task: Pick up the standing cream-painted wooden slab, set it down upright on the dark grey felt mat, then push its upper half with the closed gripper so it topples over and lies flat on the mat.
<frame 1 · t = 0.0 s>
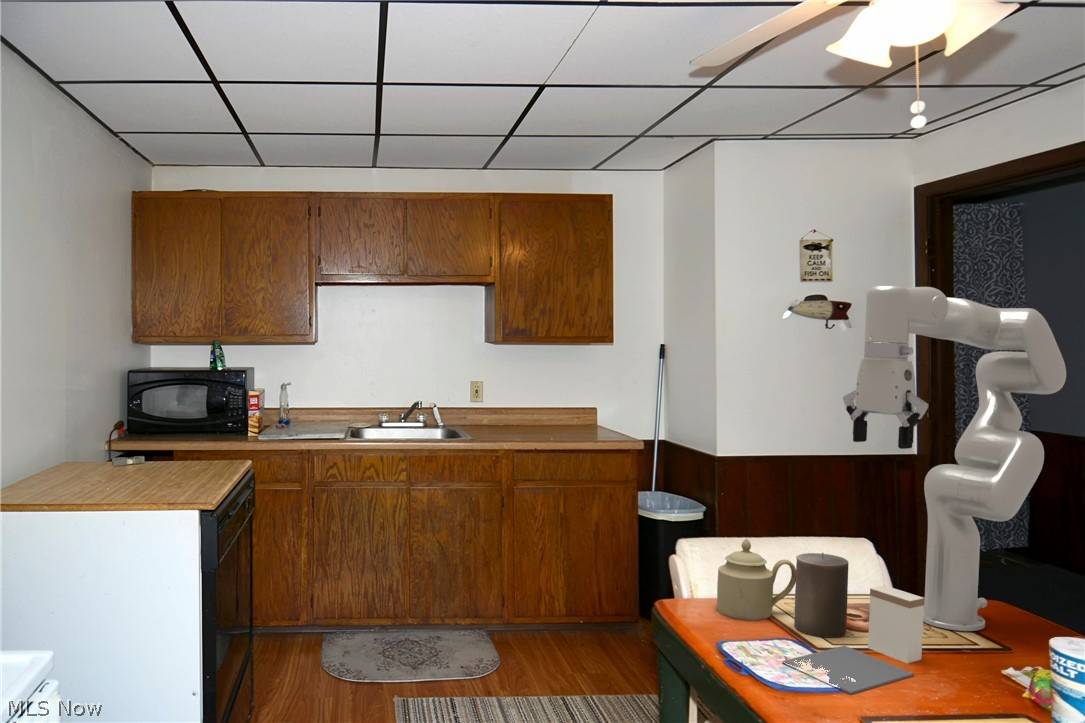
hand: (881, 444, 154), 37 cm above the table, fingers open, 9 cm apart
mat: (847, 669, 141), on the table
pillar candle: (819, 629, 161), on the table
slab: (894, 653, 149), on the table
sugar bowl: (751, 611, 171), on the table
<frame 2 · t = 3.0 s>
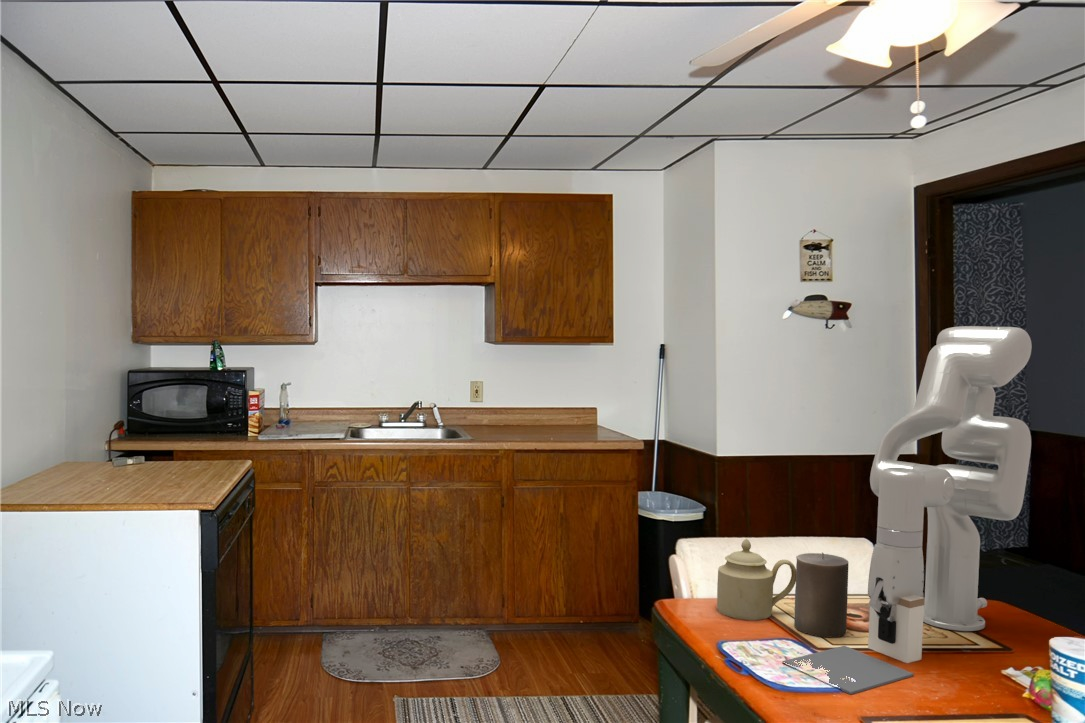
hand: (895, 637, 149), 3 cm above the table, fingers closed on slab, 4 cm apart
slab: (894, 653, 149), on the table, touching gripper
everything else where it was.
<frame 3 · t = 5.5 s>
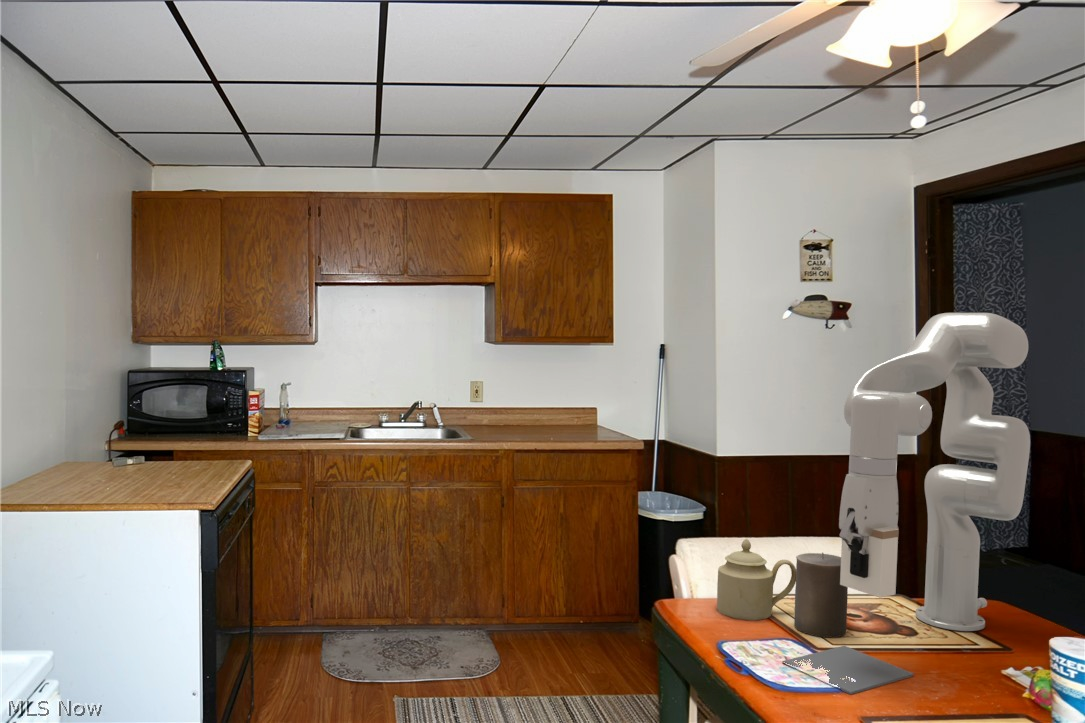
hand: (867, 573, 141), 16 cm above the table, fingers closed on slab, 4 cm apart
slab: (867, 589, 141), point 14 cm above the table, touching gripper
everything else where it was.
when the fingers open (3 cm above the table, at t = 8.0 s): slab stays where it is, resting on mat.
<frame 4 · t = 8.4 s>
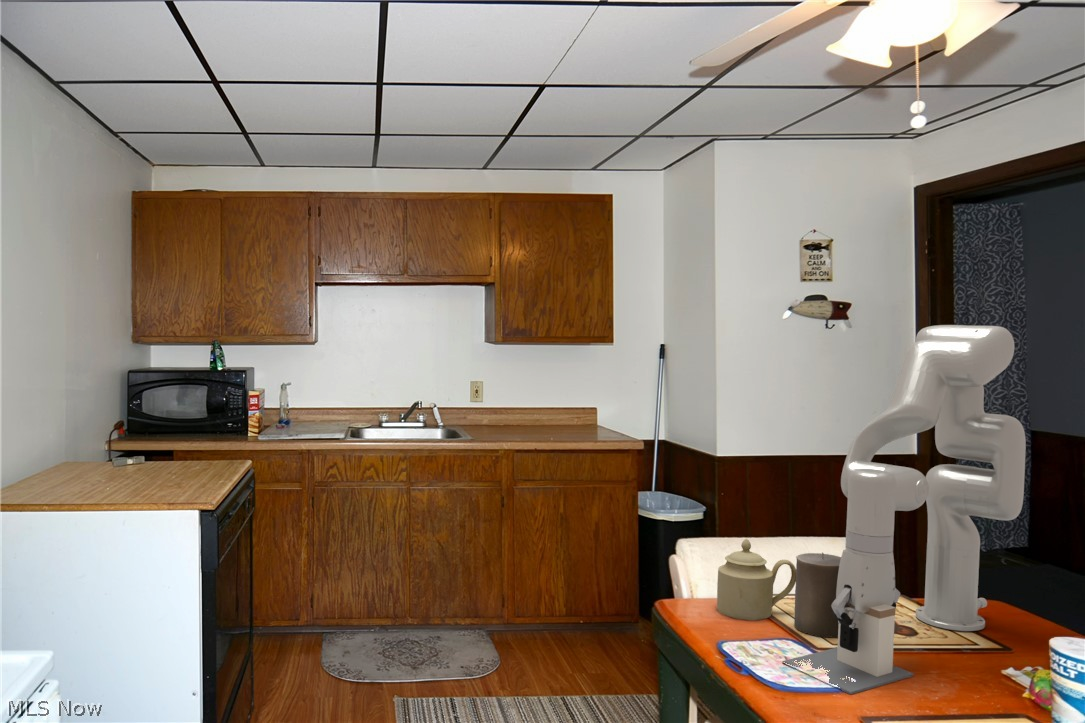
hand: (864, 644, 142), 4 cm above the table, fingers open, 7 cm apart
slab: (864, 665, 142), resting on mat
everything else where it was.
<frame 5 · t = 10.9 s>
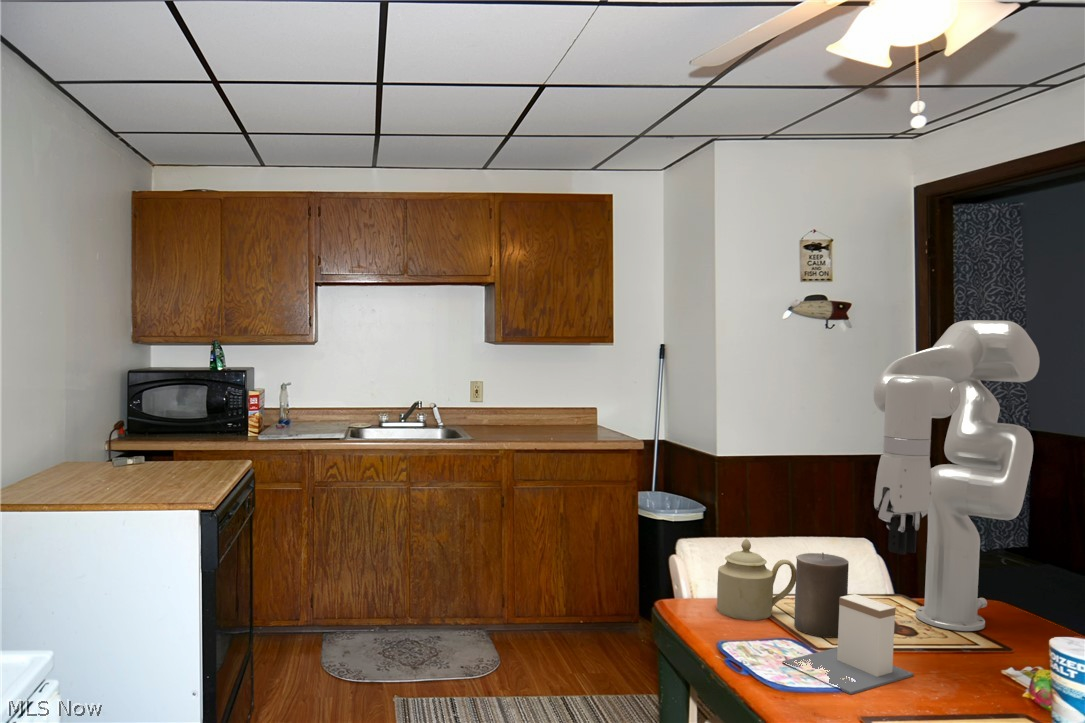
hand: (901, 551, 146), 19 cm above the table, fingers closed
nothing on the table moved.
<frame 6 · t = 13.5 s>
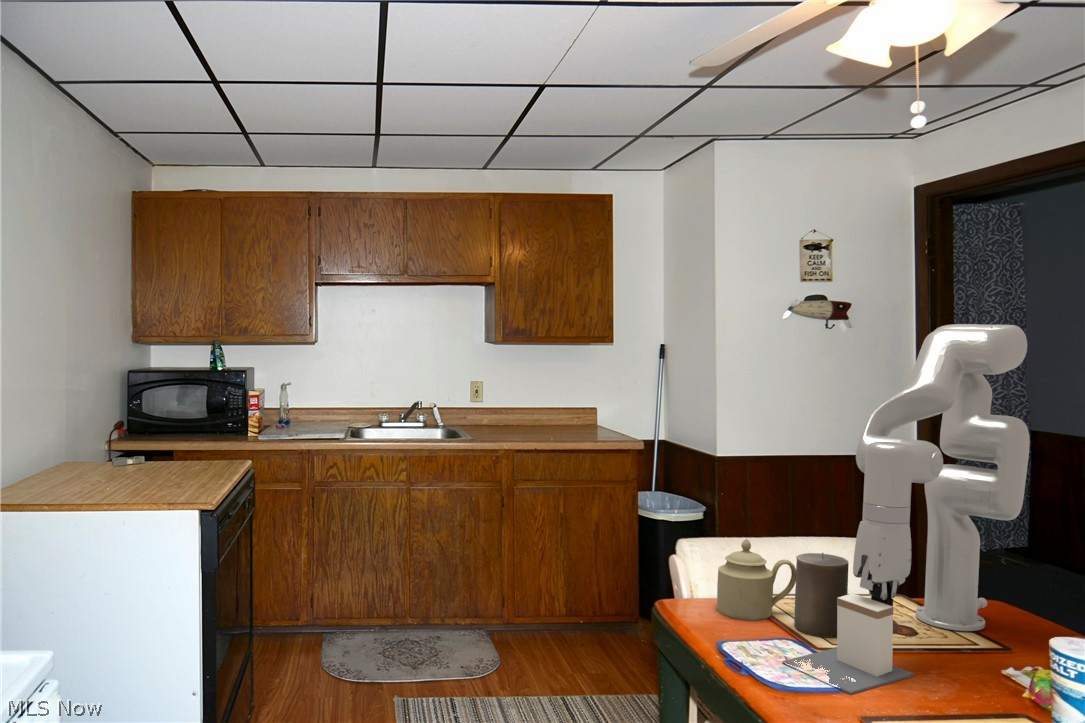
hand: (881, 619, 143), 8 cm above the table, fingers closed
slab: (864, 665, 142), point 1 cm above the table, touching gripper, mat
everything else where it was.
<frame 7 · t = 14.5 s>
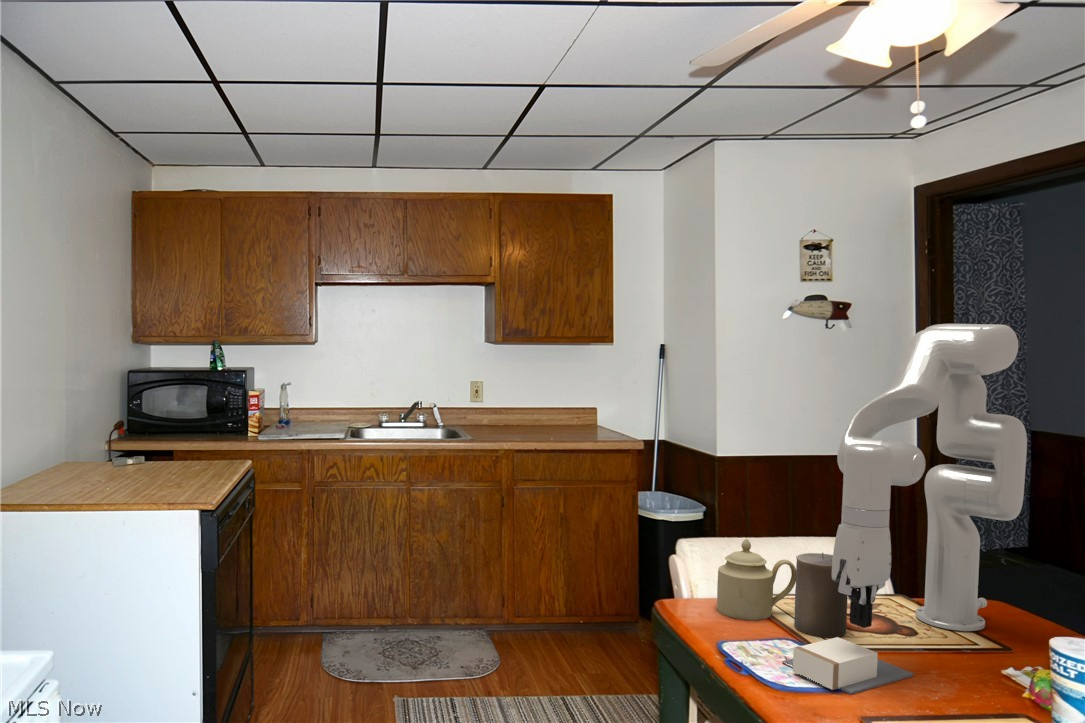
hand: (860, 624, 141), 8 cm above the table, fingers closed
slab: (856, 656, 141), point 2 cm above the table, tilted 90°, touching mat
everything else where it was.
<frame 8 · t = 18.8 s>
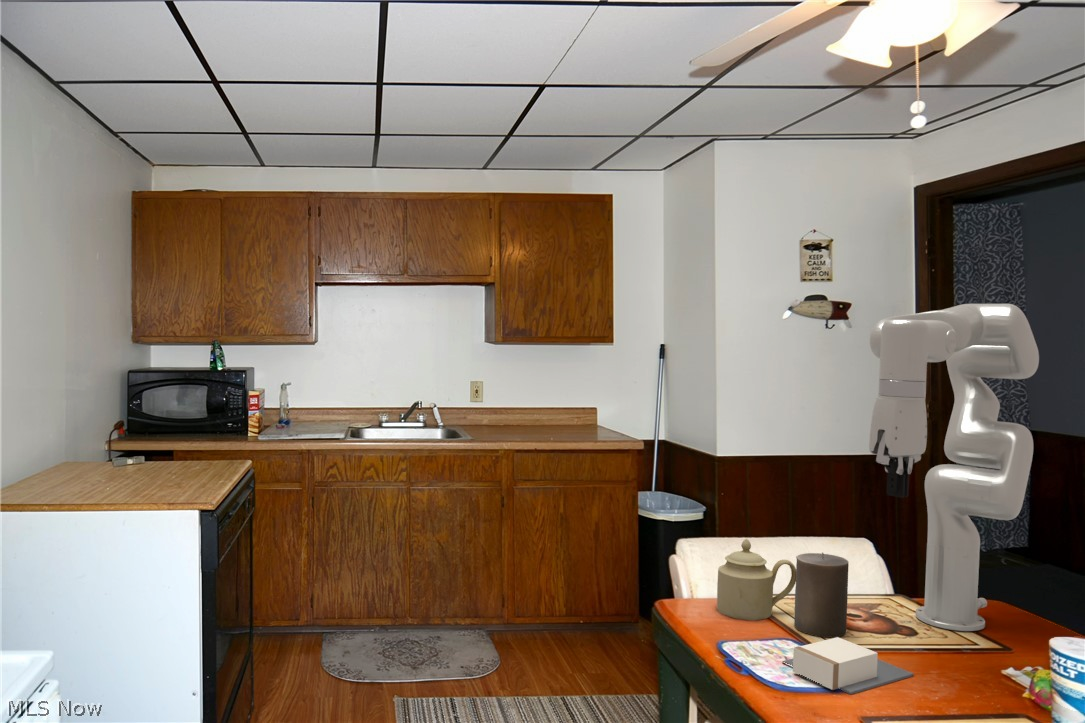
hand: (897, 495, 144), 29 cm above the table, fingers closed
nothing on the table moved.
at the end: slab tilted 90°; slab inside the target area (5.0 cm from its centre), point 2.4 cm above the table; the gripper is holding nothing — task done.
